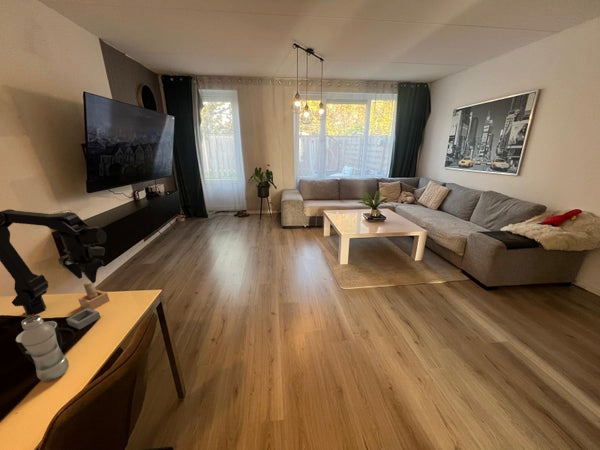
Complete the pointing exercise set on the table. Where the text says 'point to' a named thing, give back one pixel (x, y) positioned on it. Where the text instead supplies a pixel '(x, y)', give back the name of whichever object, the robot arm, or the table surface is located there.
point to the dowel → (90, 290)
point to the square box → (94, 300)
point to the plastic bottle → (43, 348)
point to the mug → (58, 337)
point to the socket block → (84, 322)
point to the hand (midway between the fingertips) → (87, 280)
